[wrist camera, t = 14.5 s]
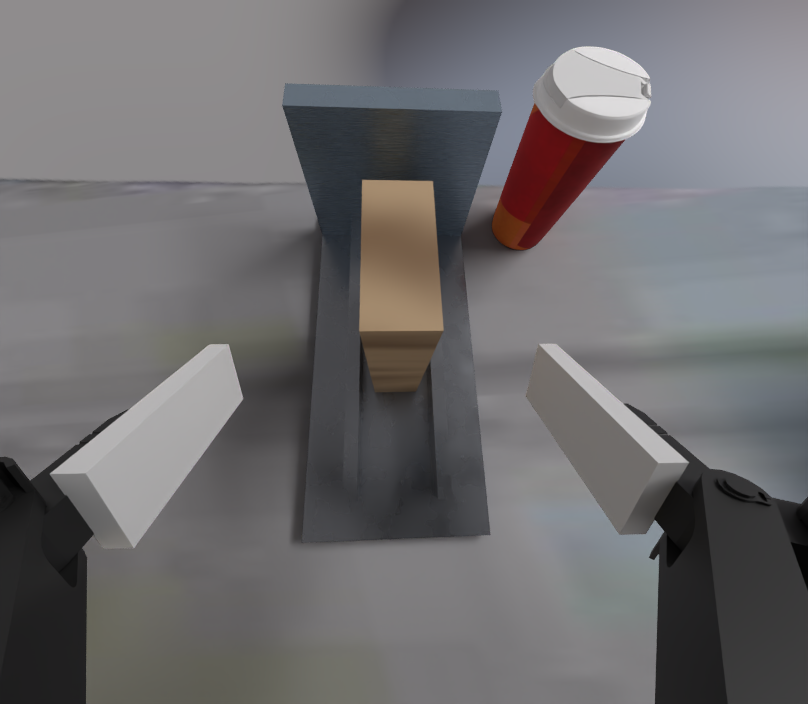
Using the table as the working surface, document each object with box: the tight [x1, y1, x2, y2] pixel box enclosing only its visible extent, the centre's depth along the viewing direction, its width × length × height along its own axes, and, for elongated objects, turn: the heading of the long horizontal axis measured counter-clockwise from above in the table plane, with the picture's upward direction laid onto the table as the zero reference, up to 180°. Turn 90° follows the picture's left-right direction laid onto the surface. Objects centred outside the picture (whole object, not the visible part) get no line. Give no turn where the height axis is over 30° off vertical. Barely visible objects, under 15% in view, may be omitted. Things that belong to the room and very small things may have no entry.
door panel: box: [359, 180, 444, 392], centre depth 20 cm, size 8×4×14 cm, turn 1°
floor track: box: [282, 84, 502, 543], centre depth 22 cm, size 30×14×13 cm, turn 1°
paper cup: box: [492, 47, 651, 250], centre depth 26 cm, size 8×8×14 cm
